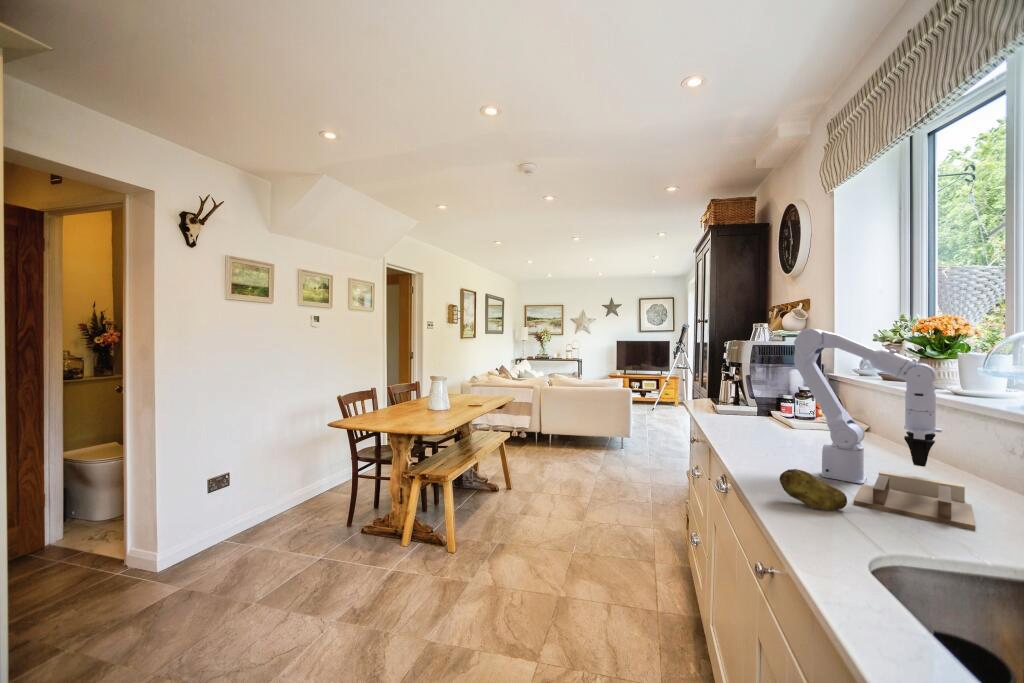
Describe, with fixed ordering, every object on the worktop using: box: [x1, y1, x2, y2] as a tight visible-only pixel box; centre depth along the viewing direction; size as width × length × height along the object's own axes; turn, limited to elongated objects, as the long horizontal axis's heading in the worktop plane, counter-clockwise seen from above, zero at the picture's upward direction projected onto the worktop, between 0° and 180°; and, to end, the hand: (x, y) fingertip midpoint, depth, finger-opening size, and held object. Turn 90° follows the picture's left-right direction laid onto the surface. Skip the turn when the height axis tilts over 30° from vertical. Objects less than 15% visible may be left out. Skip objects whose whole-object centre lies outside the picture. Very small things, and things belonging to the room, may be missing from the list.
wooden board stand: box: [853, 474, 976, 531], centre depth 102 cm, size 20×16×4 cm
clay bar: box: [878, 470, 966, 503], centre depth 112 cm, size 16×3×4 cm, turn 46°
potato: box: [779, 468, 848, 511], centre depth 103 cm, size 8×13×8 cm, turn 40°
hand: (919, 462), depth 111 cm, fingers open, 7 cm apart
